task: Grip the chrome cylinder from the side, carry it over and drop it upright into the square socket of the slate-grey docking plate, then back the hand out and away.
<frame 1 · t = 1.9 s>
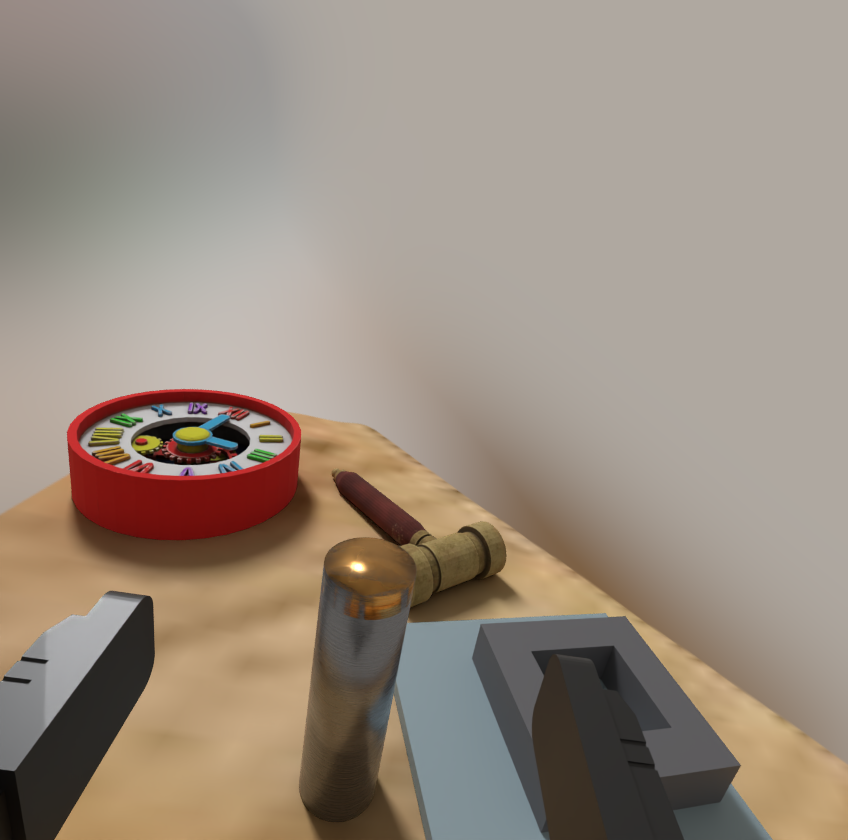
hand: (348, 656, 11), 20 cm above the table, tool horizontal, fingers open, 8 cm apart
gavel: (386, 534, 52), on the table
chrome cylinder: (337, 781, 29), on the table
dock: (579, 734, 34), on the table
toy clock: (192, 483, 54), on the table
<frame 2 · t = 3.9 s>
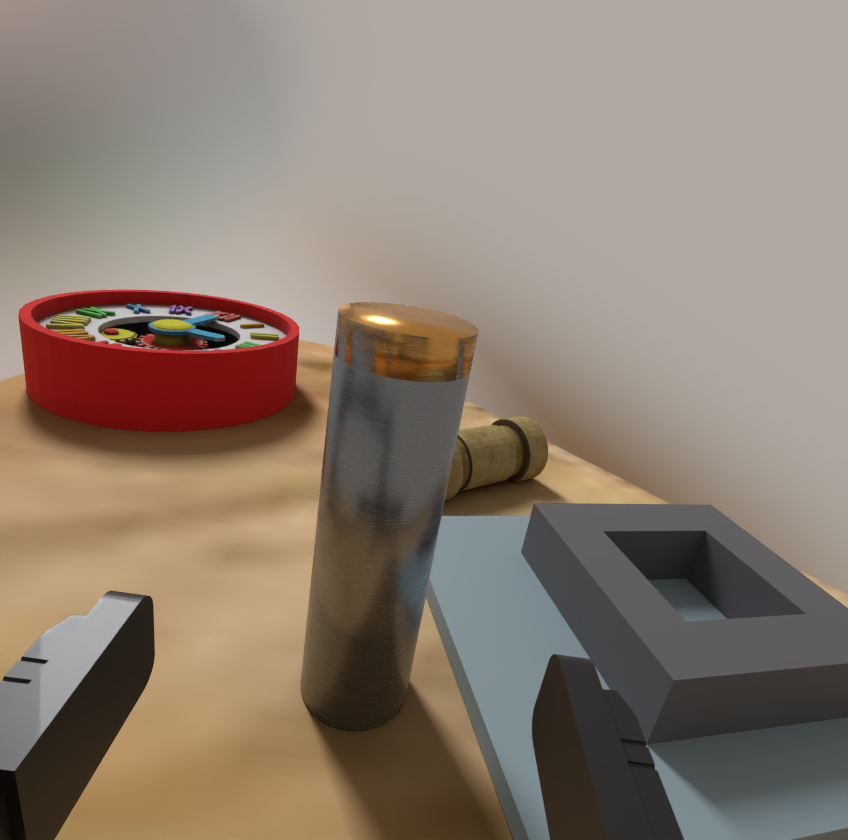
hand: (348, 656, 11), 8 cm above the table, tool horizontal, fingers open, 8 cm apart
gavel: (401, 441, 44), on the table
chrome cylinder: (354, 683, 21), on the table
dock: (668, 639, 26), on the table
toy clock: (173, 387, 46), on the table
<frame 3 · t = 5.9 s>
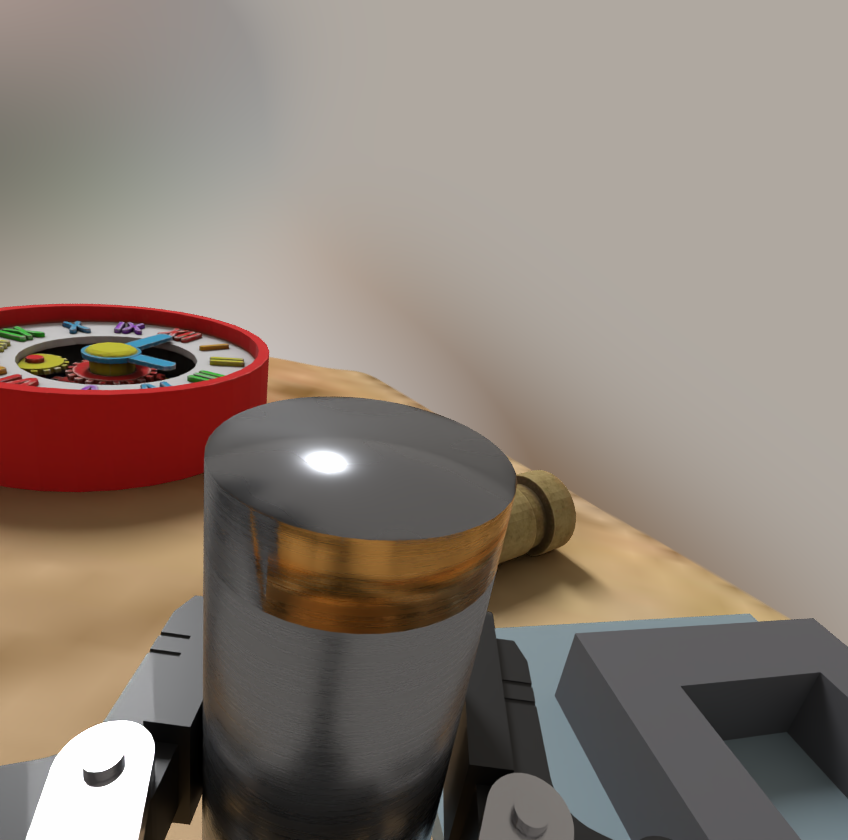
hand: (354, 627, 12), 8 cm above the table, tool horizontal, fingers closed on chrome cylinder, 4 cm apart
gavel: (391, 494, 36), on the table
toy clock: (115, 424, 38), on the table
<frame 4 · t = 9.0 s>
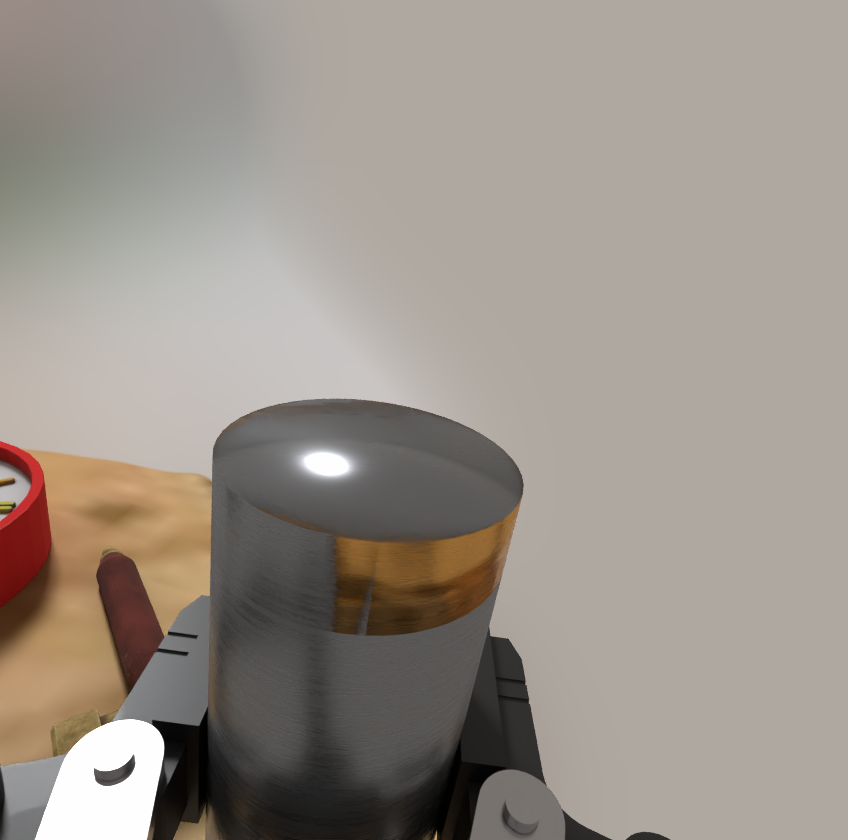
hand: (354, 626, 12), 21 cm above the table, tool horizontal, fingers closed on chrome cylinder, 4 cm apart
gavel: (139, 656, 35), on the table
when the fingers open (10 cm above the table, at t = 11.8 s): chrome cylinder stays where it is, resting on dock.
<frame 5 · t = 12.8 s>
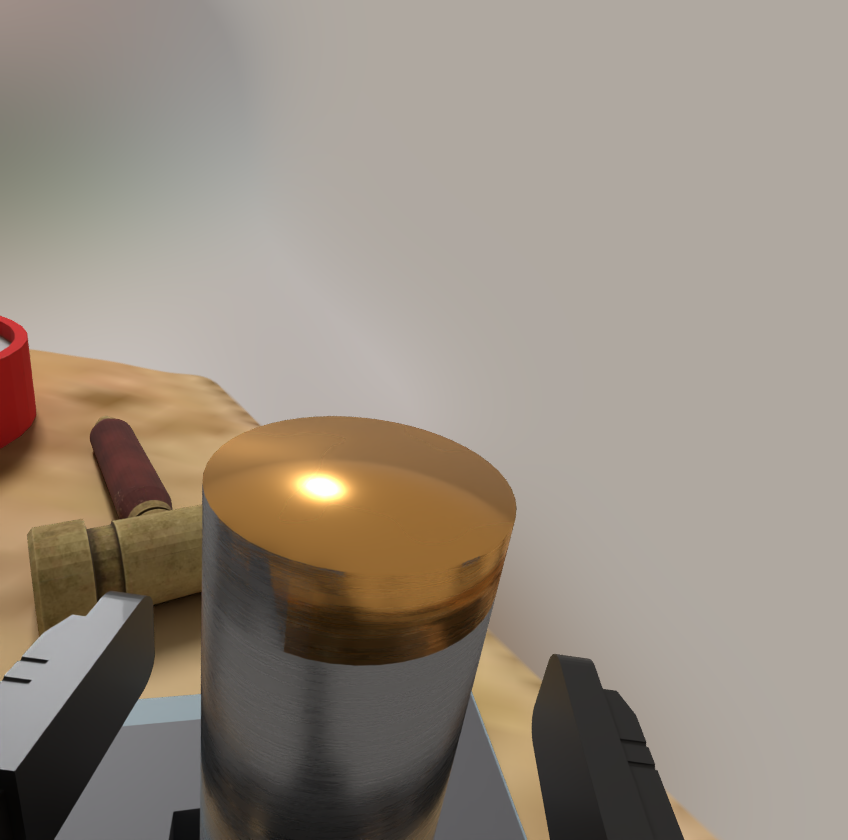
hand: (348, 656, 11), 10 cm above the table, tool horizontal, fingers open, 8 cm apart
gavel: (134, 511, 32), on the table
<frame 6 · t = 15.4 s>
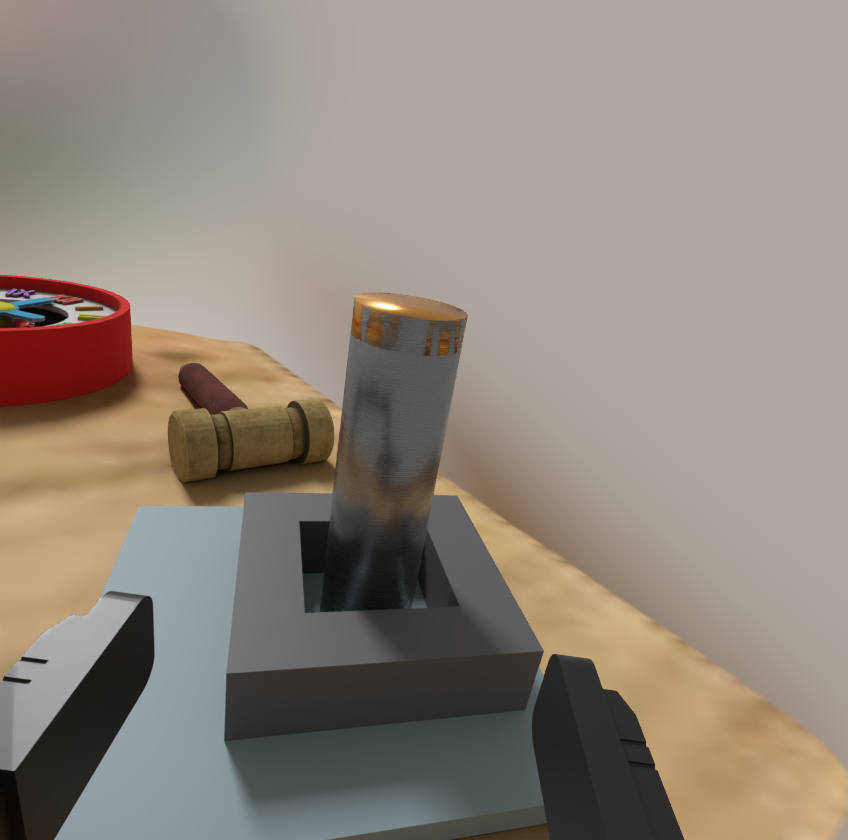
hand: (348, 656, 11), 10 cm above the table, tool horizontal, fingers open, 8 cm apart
gavel: (217, 424, 44), on the table
chrome cylinder: (364, 617, 25), point 1 cm above the table, touching dock
dock: (362, 632, 25), on the table
toy clock: (1, 368, 47), on the table
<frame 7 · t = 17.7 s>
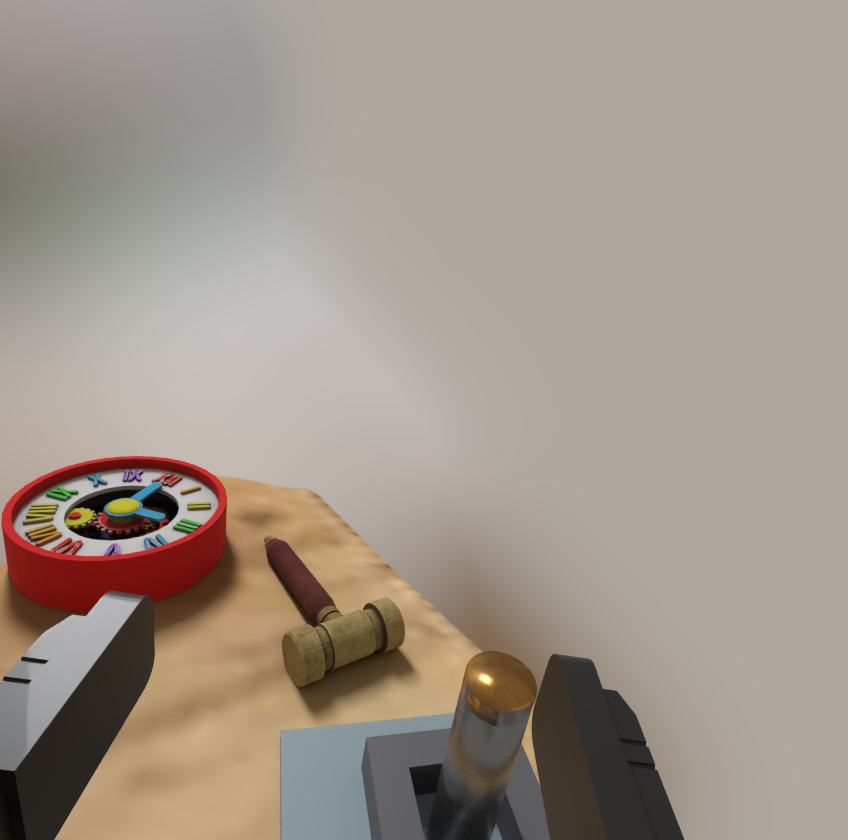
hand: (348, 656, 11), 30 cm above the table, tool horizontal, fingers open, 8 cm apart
gavel: (304, 603, 55), on the table
chrome cylinder: (456, 839, 36), point 1 cm above the table, touching dock
toy clock: (125, 549, 59), on the table
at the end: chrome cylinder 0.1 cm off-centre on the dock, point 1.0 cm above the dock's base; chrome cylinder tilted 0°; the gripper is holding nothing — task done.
